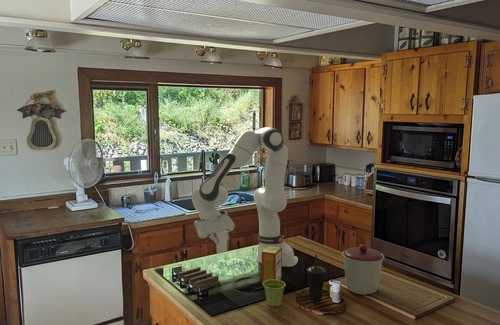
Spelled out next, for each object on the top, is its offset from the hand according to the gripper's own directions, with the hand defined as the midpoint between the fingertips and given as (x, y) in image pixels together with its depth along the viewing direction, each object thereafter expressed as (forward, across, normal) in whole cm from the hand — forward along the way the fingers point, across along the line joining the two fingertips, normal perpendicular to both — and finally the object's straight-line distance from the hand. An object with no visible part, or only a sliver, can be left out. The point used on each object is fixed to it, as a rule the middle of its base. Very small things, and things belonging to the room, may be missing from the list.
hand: (222, 240), depth 200 cm
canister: (+52, +36, -25) cm, 68 cm away
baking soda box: (+27, +13, -2) cm, 30 cm away
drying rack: (+12, -14, +13) cm, 23 cm away
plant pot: (+39, -2, -14) cm, 42 cm away
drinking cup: (+46, +12, -21) cm, 52 cm away
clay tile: (+4, 0, +4) cm, 6 cm away
